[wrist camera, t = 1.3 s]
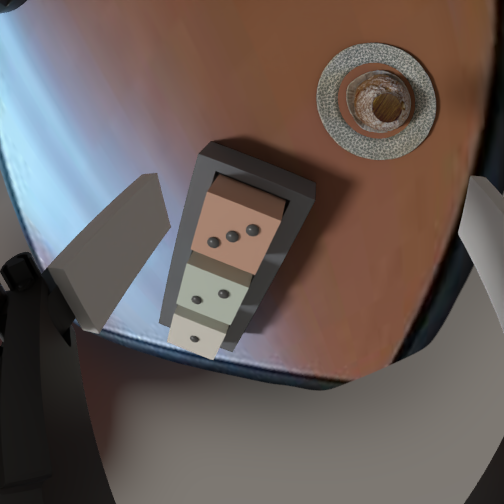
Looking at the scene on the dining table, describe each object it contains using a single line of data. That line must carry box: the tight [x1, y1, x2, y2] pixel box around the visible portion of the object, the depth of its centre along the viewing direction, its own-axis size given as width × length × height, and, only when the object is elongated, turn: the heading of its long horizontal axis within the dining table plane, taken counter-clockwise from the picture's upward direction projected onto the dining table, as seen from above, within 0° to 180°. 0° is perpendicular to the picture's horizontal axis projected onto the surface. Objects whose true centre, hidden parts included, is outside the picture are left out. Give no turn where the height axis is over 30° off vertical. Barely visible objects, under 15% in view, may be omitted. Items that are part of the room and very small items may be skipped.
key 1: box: [167, 305, 229, 360], centre depth 43 cm, size 7×7×4 cm
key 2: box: [176, 251, 253, 325], centre depth 37 cm, size 7×7×4 cm
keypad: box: [159, 142, 316, 352], centre depth 40 cm, size 12×28×4 cm, turn 161°
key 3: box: [191, 174, 286, 275], centre depth 32 cm, size 7×7×4 cm
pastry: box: [316, 43, 436, 160], centre depth 26 cm, size 12×12×5 cm
